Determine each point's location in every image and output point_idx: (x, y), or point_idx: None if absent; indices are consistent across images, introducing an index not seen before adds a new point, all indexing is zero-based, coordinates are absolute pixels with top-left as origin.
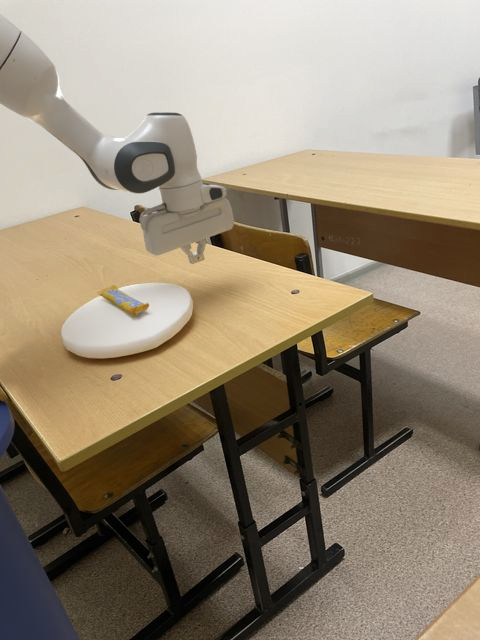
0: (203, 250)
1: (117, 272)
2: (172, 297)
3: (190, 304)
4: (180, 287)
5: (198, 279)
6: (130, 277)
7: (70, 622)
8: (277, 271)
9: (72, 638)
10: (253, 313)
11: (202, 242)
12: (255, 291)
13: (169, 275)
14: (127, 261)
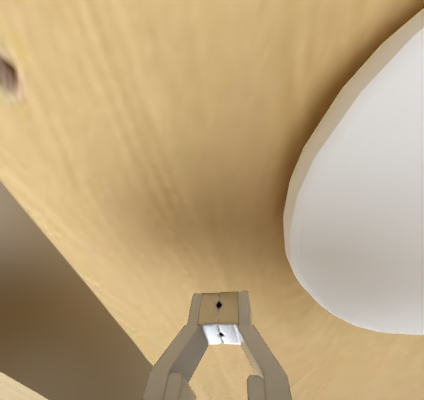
0: (182, 333)
1: None
2: (393, 173)
3: (355, 96)
4: (301, 237)
5: (199, 290)
6: (280, 354)
7: None
8: (50, 221)
9: None
10: (149, 6)
11: (167, 387)
12: (111, 164)
13: None
14: None
